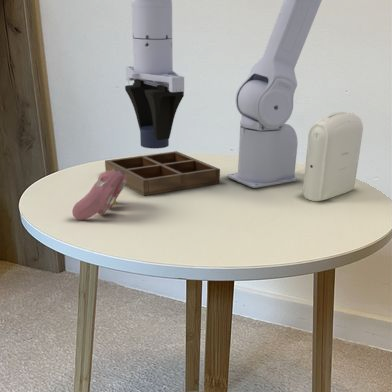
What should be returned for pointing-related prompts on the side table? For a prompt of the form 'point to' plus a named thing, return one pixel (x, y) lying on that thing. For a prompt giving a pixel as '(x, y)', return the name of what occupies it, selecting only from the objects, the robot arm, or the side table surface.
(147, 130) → the round container
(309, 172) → the photo printer
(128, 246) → the side table surface
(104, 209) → the pink rounded lump
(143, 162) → the grid
